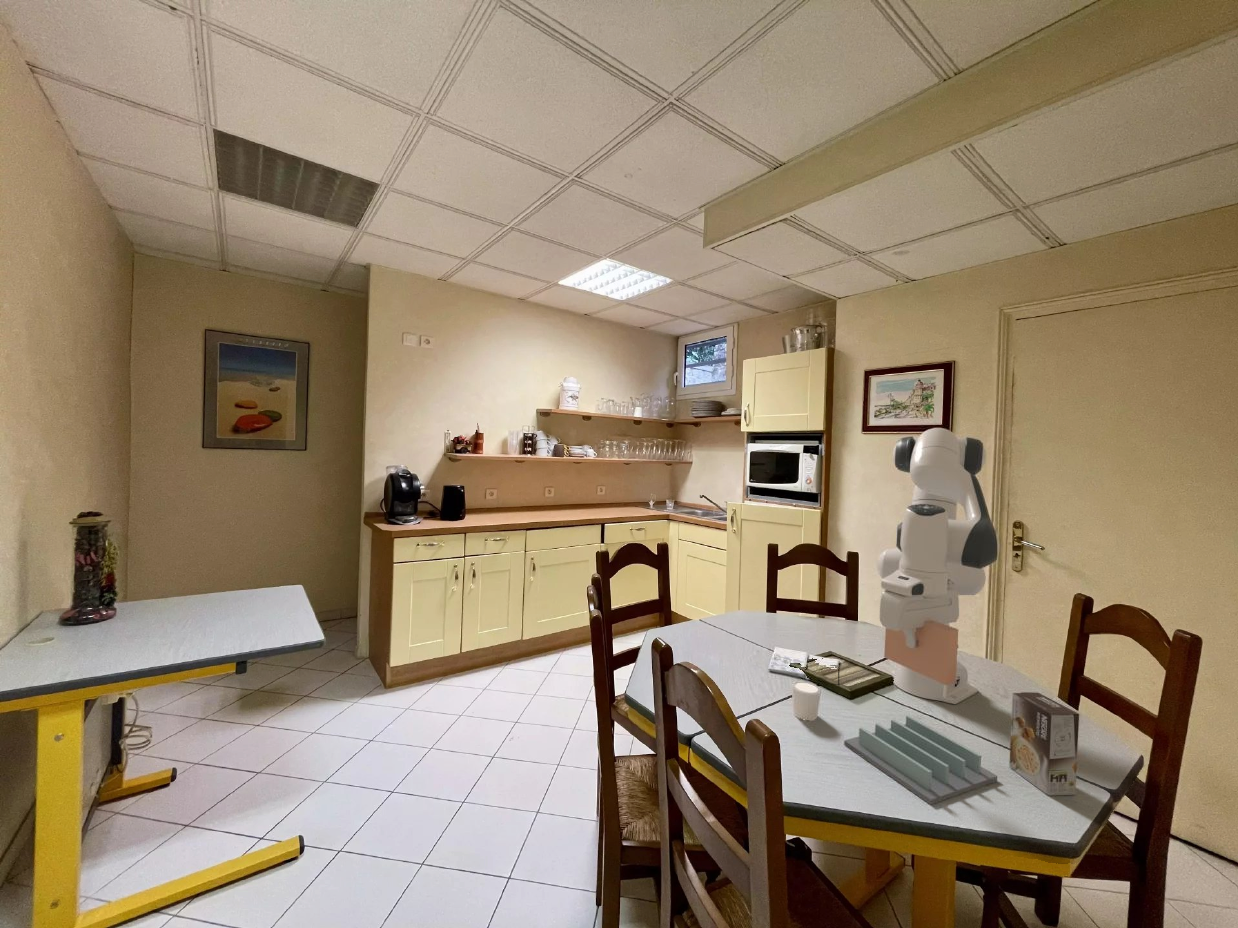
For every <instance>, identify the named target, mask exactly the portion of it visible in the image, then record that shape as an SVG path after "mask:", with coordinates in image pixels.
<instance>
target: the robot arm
mask: <svg viewBox="0 0 1238 928" xmlns="http://www.w3.org/2000/svg"><path fill="white" fill-rule="evenodd" d="M986 460H987V451H986V448H985V446H984V443H983V442H982V441H981V440H980V439H978V438H974V437H968V436H967V437H960V436H957V435H955V433H953V432H952V430H949V429H947V428H943V427H933V428H929V429H927V430H925V431H922V433H921V434H920V435H919V436H915V437H913V436H912V435H910V436H905V437H901V438H899V439H898V440H897V441H896V444H895V445H894V447H893V450H892V461H893V463H894V466H895V468H897V470H898V471H900V472H903V473H908V474H909V473H910V479H911V480H912V482H913V483H914V489H913V493H912V501H911V505H909V506H907V507H906V508H905V511H904V514H903V518H902V519H903V520H902V522H900V523H899V524H898V525H897V527H896V543H895V545H896V547H893V548H886V549H885V550H883V551H882V552H881V553H880V554H879V556H878V558H877V562H876V563H877V564H876V567H877V573H878V574H879V576H880V578H881V583H880V587H881V589H883V591H882V593H881V596H880V601H879V621H880V625H881V626H882V627H884V628H885V629H886V628H888V629H891V630H893V631H901V630H903V632H904V634H905V637H906V645H907V646H908V647H910V648H917V647H918V643H919V640H918V639H916V637H915V634H914V633H916V628H920V627H923V626H924V622H928V621H935V622H938V623H941V624H944V625H947V626H950V624H952V623H957V621H958V619H959V617H960V601H959V596H975V595H977V594H979V593H980V592H981V591H982V590H983V589H984V587H985V584H986V573H985V569H984V568H986V567H988V566H990V565H992V564H994V563H995V562H996V561H997V560H998V557H999V554H1000V553H999V552H1000V541H999V537H998V534H997V532H996V529H995V527H994V525H993V523H992V520H991V517H990V514H989V510H988V507H987V503H986V499H985V496H984V492H983V490H982V487H981V484H980V481H979V479H978V478H977V476H976V475H977V474H979V473H980V472H981V471H982V468H983V467H984V465H985V464H986ZM958 504H959V505H961V506H962V507H963V510H964V515H965V517H966V520H965V519H964V520H961V519H960V520H959V519H957V510H958ZM959 647H960V646H959V645H958V647H957V650H958V649H959ZM968 674H969V673H968V670H967V667H966V666H965V665H963V664H962V663H961V662H960V661H959V660H958V659H957V665H956V683H955V684H951V685H944V684H942V683H940V682H937V681H935V680H933V679H931V678H929V677H926V676H924V675H922V674H920V673H918V672H915V671H913V670H911V669H909V668H907V667H904V666H902V665H900V664H898V663H896V662H895V665H894V670H891V674H890V675H891V676H892V678H893V680H894V681H893V684H894V685H895V686H896V687H897V688H899V689H900V690H902V691H903V692H906V693H908V694H910V695H913V696H916V697H919V698H923V699H927V700H932V701H941V702H945V703H948V704H953V705H957V704H958V703H960V702H962V701H965V700H966V699H968V698H969V697H971V696H973V695H975V694H977V692H978V691H979V690H978V687H977V686H975V685H974V684H973V683H971V682H969V679H968Z"/></svg>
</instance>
